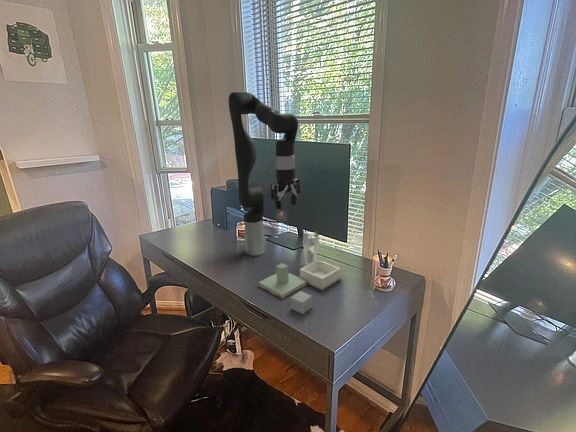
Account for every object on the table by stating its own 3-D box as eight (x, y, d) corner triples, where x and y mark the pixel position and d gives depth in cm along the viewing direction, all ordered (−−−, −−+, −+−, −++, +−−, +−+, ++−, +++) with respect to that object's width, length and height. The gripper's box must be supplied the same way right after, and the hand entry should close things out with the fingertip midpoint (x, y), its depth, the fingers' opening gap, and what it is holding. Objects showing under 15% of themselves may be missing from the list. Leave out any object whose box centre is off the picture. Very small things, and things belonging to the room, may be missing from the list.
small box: (300, 301, 117) (300, 290, 116) (312, 307, 114) (312, 295, 112) (290, 308, 113) (290, 296, 112) (302, 315, 110) (302, 302, 108)
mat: (258, 286, 128) (258, 284, 128) (283, 273, 137) (283, 272, 137) (282, 299, 119) (282, 297, 118) (307, 284, 128) (307, 283, 128)
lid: (259, 284, 128) (258, 266, 125) (283, 272, 137) (282, 255, 134) (282, 297, 119) (281, 278, 116) (306, 283, 128) (306, 265, 125)
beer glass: (321, 264, 145) (321, 233, 140) (314, 270, 140) (314, 238, 135) (307, 260, 149) (307, 231, 144) (300, 266, 143) (300, 236, 138)
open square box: (299, 279, 132) (299, 269, 130) (318, 269, 140) (318, 259, 138) (322, 290, 124) (322, 279, 122) (340, 278, 132) (340, 268, 130)
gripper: (291, 163, 131) (291, 201, 136) (265, 168, 121) (267, 209, 126) (304, 165, 126) (304, 204, 131) (278, 170, 116) (280, 212, 121)
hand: (286, 206), depth 129 cm, fingers open, 8 cm apart
